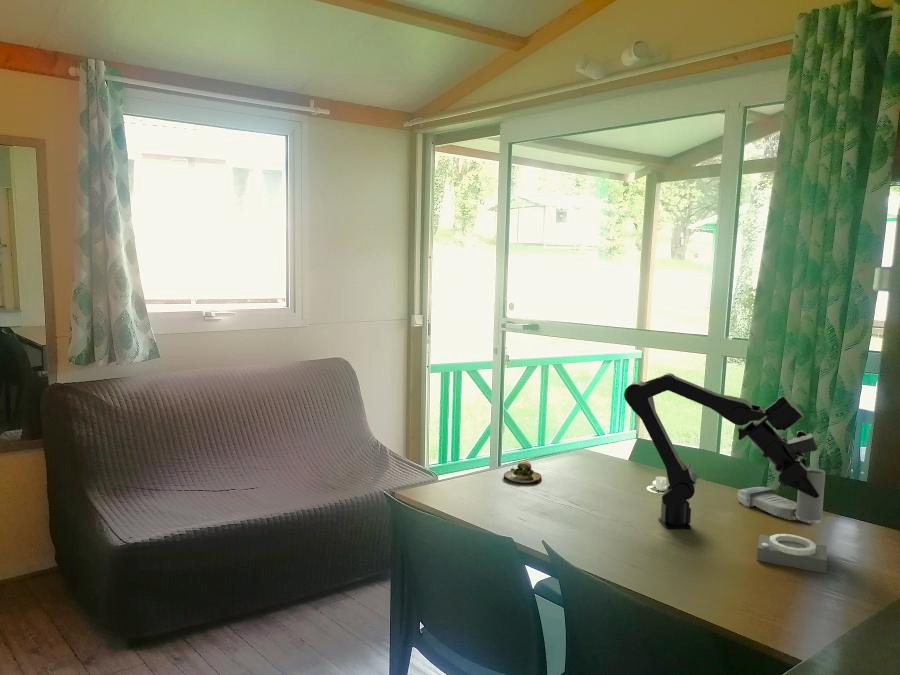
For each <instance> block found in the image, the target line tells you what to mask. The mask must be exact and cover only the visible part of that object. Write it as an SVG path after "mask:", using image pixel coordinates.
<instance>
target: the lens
mask: <svg viewBox="0 0 900 675" xmlns="http://www.w3.org/2000/svg"><path fill="white" fill-rule="evenodd" d="M806 467H807V477H808V479H809V480H810V482H811V483H812V485H813V486H814V488H815V489H816V491H817V492H818V494H819V497H817V498H814V497H812V496H810V495H808V494H806V493H804V492H802V491H799V490H797V496H796V503H797V509H796V518H797V519H798V520H797V521H800V522H803V523H805V524H806V523H808V524H820V523H822V522H823V508H824V494H825V483H826V471H825V470H822V469H821V468H820V469H819V468H815V467H808V466H806Z"/></svg>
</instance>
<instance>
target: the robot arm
mask: <svg viewBox="0 0 900 675" xmlns="http://www.w3.org/2000/svg"><path fill="white" fill-rule="evenodd" d="M667 391H669V392H670V393H673V394H676V395H678V396H680V397H683V398H686V399H688V400H690V401H692V402H695V403H697V404H699V405H702V406H705V407H707V408H709V409H711V410H713V411H714V412H716V413H717V414H719V415H720V416H721V417H722V418H724V419H726V420H727V421H728V422H730V423H732V424H734V425H735V426H738V428H737V431H738V437H737V439H738V440H739V441H742V440H743V439H744V438H745V437H746V438H748V439H749V440H750V441H751V442H752V443H753V444H754V445H755V447H757V449H759V451H760V452H761V453H762V456H763V458H765V459H766V458H767V459H768V461H770V463H771V464H772V465H773V466H774V469H775V470H776V472H778V473H777V475H778V476H777V478H778V482H779V483H780V484H781V485H782V486H783V487H787V486H788V487H791V488H793V489H795V490H796V491H798V490H799V491H802V492H804V493H806V494H808V495H810V496H812V497H814V498H817V497H819V494H818V492H817V491H816V489H815V488H814V486H813V485H812V483H811V482H810V480H809V479H808V477H807V467H808V466H807V465H806V464H807V459H806V457H805V453H809V452H816V451H818V450H819V447H818V444H817V442H816V440H815V437H814V434H813V433H807V432H806V431H804V430H803V429H802V430H800V431H799V430H798V431H796V437H793V438H791V439H789V440H788V439H787V438H786V437H785V436H780V435H779V433H778V432H776V431H775V430H777V431H783V432H785V431H787V430H788V429H790V428H791V427H792V426H794V425H795V424H796V423H798V422H799V421H801V420H802V419H804V418H805V415H804V414H803V413H802V411H801V410H800V409H799V408H798V407H797V406H796V405H795V404H794V403H792V402H791V400H789V399H788V398H786V396H784V395H780V396H779V397H778V398H777V399H776V400H775V401H774V402H772V404H770V405H769V406H768V407H764V406H760V405H756V404H752V403H751V401H749V400H748V399H745V398H741V397H737V396H733V395H727V394H721V393H717V392H714V391H712V390H710V389H708V388H705V387H702V386H700V385H698V384H696V383H694V382H690V381H688V380H686V379H683V378H680V377H678V376H676V375H675V374H673V373H670V372H668V373H665V374H663V375H662V376H658V377H655V378H652V379H649V380H647V381H643V380H637V381H634V382H632V383H631V384H630V385H628V386H627V387H626V389H625V390H624V394H623V397H624V400H625V402H626V403H627V405H628V406H629V407H630V409H632V411H633V412H634V413H635V414H636V415H637V416H638V417H639V419H641V421H642V423H643V425H644V427H645V429H646V431H647V433H648V435H649V437H650V439H651V441H652V442H653V443H652V444H653V445H654V447H655V449H656V451H657V452H658V455H659V458H661V461H662V463H663V465H664V466H665V469H666V475H667V481H668V484H669V485H668V486H666V487H667V488H665V490H664V491H663V493H664V494H662V495H661V506H660V507H661V508H660V510H661V511H660V517H658V521H659V522H660V523H661V524H662V525H663V526H664V527H665V528H666V529H691V528H692V525H691V521H692V520H691V518H692V517H691V516H692V508H691V507H690V501H688V500H691V499H692V498H693V497H694V495H695V492H696V490H697V487H698V479H699V475H697V474H696V473H695V471H694V468H693V465H692V463H691V462H690V463H688V464H685V462H684V461H682V460H681V458H680V456H679V454H678V452H677V451H676V448H675V446H674V444H673V442H672V440H671V439H670V437H669V435H668V432H667V430H666V429H665V427H664V425H663V423H662V420H661V419H660V416H659V415H658V413H657V410H656V406H655V401H654V396H657V395H659V394H662V393H664V392H667ZM756 421H757V422H756ZM767 421H768V422H767ZM744 425H745V426H744ZM741 426H742V427H741ZM743 426H744V427H743ZM771 426H772V427H771ZM773 428H774V429H773ZM800 457H803V458H801V459H799V458H800Z"/></svg>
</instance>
